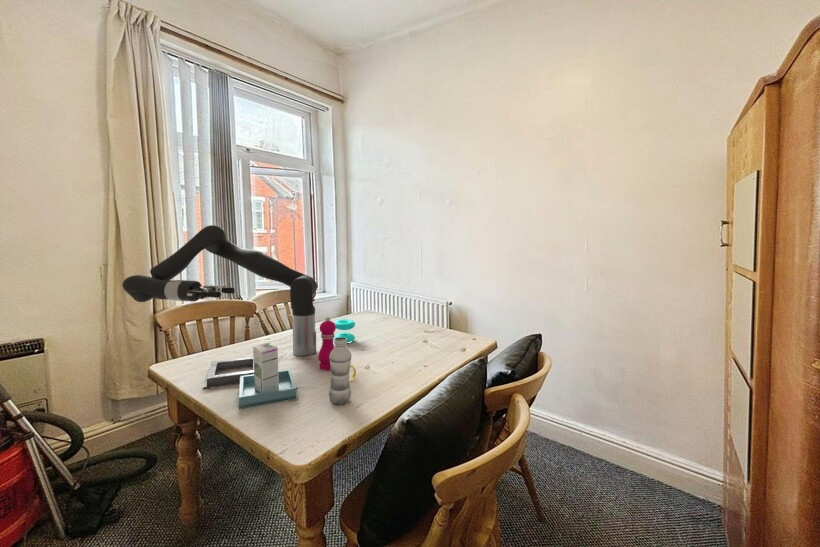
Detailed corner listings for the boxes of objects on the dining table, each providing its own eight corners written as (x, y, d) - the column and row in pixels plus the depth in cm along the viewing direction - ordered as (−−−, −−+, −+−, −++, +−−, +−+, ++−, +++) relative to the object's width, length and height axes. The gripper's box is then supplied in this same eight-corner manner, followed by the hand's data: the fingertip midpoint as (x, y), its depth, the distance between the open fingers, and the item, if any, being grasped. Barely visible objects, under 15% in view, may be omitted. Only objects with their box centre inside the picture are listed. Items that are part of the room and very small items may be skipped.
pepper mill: (320, 372, 124) (320, 320, 122) (316, 365, 130) (316, 315, 128) (339, 369, 127) (339, 318, 125) (334, 362, 133) (334, 314, 131)
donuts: (336, 318, 165) (356, 319, 164) (336, 338, 166) (356, 338, 166) (331, 323, 155) (353, 324, 155) (331, 344, 156) (352, 345, 156)
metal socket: (261, 362, 132) (261, 354, 132) (263, 380, 116) (263, 372, 116) (209, 368, 124) (208, 361, 124) (202, 389, 108) (202, 380, 108)
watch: (353, 378, 120) (354, 362, 120) (356, 381, 118) (357, 365, 118) (337, 380, 117) (338, 363, 117) (339, 383, 115) (341, 366, 115)
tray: (291, 378, 118) (290, 369, 118) (296, 398, 104) (296, 388, 103) (240, 386, 111) (240, 376, 111) (239, 408, 97) (238, 397, 97)
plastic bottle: (330, 396, 106) (330, 335, 103) (352, 396, 106) (352, 335, 104) (327, 407, 99) (327, 342, 97) (350, 406, 100) (350, 342, 98)
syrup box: (279, 389, 107) (278, 346, 106) (261, 395, 103) (260, 350, 101) (271, 384, 111) (270, 342, 110) (253, 389, 107) (252, 346, 105)
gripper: (168, 283, 113) (215, 285, 113) (196, 277, 127) (238, 279, 127) (169, 304, 114) (215, 306, 114) (197, 297, 128) (238, 299, 128)
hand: (227, 292), depth 120 cm, fingers open, 8 cm apart
